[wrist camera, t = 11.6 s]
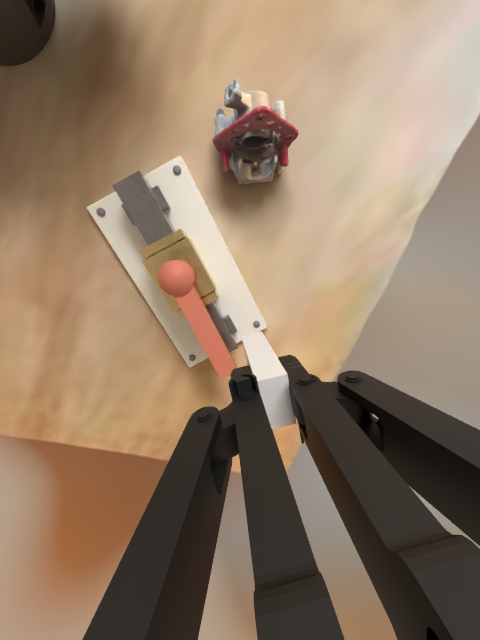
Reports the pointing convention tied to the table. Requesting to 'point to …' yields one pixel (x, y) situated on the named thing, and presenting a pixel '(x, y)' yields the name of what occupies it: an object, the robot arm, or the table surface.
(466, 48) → the table surface
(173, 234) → the pipe valve
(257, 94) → the brake caliper
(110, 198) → the mount board
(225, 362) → the lever
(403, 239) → the table surface
